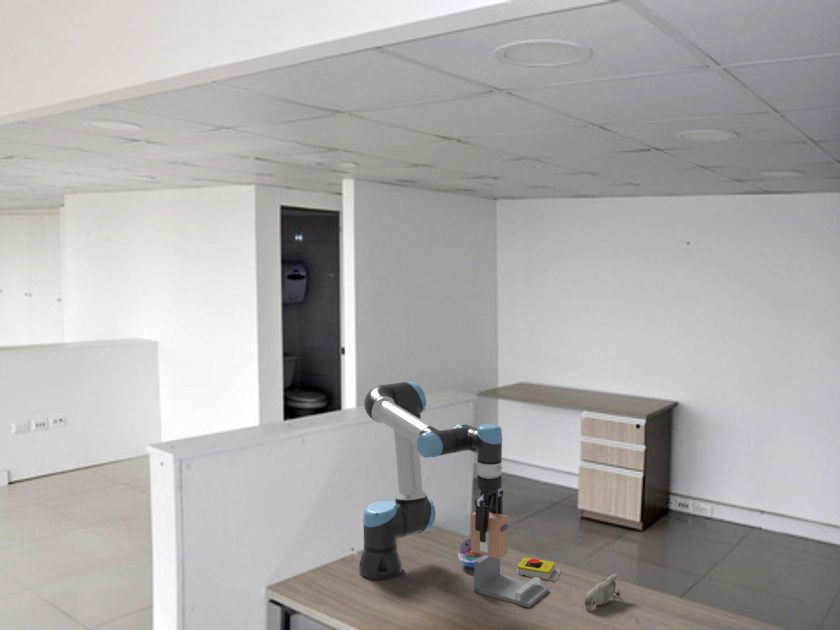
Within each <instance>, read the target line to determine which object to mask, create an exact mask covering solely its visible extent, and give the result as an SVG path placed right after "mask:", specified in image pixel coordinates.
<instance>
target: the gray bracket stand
mask: <svg viewBox="0 0 840 630" xmlns="http://www.w3.org/2000/svg"><path fill="white" fill-rule="evenodd" d="M527 582H528V581H526V580H521V579H518V578H514V577H512V576H507V575H504V574H501V558H500V559H497V558H493V557H490V556H486V555H483V556H482V557H480V558H479V559H477V560H476V561H474V567H473V592H475V593H479V594H482V595H485V596H489V597H492V598H495V599H498V598H499V600H502V601H505V602H508V603H511V604H512V603H513V604H514V605H519V606H522V607H526V608H531V606H533V605H534V604H536V603H537V602H538V601H539V600H540V599H541V598H543V596H545V595H546V594H548V592H549V587H547V586H544V585H540V586H539V587H538V588H536V589H535V590H534V591H533V592H531V593H530V594H529V595H528V596H526V597H525V598H524V599H523V600H522V601H517V600H515V592H516V591H517V590H518V589H520V588H521V587H522V586H524V585H525V584H526V583H527Z"/></svg>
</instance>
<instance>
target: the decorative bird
mask: <svg viewBox="0 0 840 630" xmlns="http://www.w3.org/2000/svg"><path fill="white" fill-rule="evenodd" d="M618 578H619V575H618V574H617V573H613V574H611V575H609V576H608V577H607V578H605V579H602V580H600V581H599V582H597V583H596V585H595V586H594V587H593V588H591V589H589V590H588V591H587V592H586V594H585V595H584V596H585V597H584V607H585V609H586V612H589V611H590V610H591V609H592V608H593V607H594V606H601V605H605V604H607V603H609V601H610V600H611V599H612V597H613V596H615V597H616V598H617V599H618V598H619V599H621V596H620V590H621V589H620V588H619V589H618V591H616V587H617V586H616V585H617V583H616V581H617V580H618ZM614 593H615V595H614Z"/></svg>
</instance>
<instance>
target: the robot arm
mask: <svg viewBox="0 0 840 630" xmlns="http://www.w3.org/2000/svg"><path fill="white" fill-rule="evenodd" d="M363 406H364V409H365V412H366V414H367V416H368V417H369V418H370V419H371V420H373V421H374V422H375V423H377V424H385V425H386V426H387V427H389V428H390V429H392V430H393V434H394V435H393V438H394V448H395V450H394V451H395V459H396V471H397V473H396V474H397V484H398V492H397V494H396V495H395V498H394V500H395V502H394V501H392V500H378V501H375V502H372V503H370V504H368V505H367V506H366V508H365V509H364V511H363V519H362V522H363V551H362V554H361V557H360V561H359V564H358V573H359V574H360V576H362V577H364V578H367V579H370V580H376V581H377V580H389V579H393V578H396V577H398V576H399V575H401V574H402V572H403V563H402V560H401V556H400V554H399V551H398V539H401V538H404V537H407V536H412V535H415V534H423V533H424V532H426V531H429V530H430V529H432V526H433V525H434V524H435V521H436V516H437V515H436V513H437V512H436V507H435V505H434V502H433V500H432V499H431V498H429V497H428V493H427V492H425V491H424V489H423V479H422V466H421V465H422V464H421V457H423V458H425V459H427V458H436V457H440V456H445V455H449V454H456V453H461V452H467V451H469V452H472V453H476V454H477V455H476V456H477V457H476V458H477V459H476V461H477V463H476V464H477V467H476V468H477V469H476V473H477V476H476V478H477V479H476V482H477V483H476V486H477V488H478V489H479V490H480V494H479V497H478V499H477V498H475V499H474V505H475V512H476V517H475V530H476V531H480V551H482V552H486V553H488V552H489V531H487V528H488V518H489V513H490V512H491V513H496V514H501V515H504V514H503V498H504V497H503V496H504V490H503V489H502V485H503V483H502V482H503V480H502V472H503V471H502V470H503V466H502V465H503V464H502V462H503V461H502V459H503V457H502V456H503V436H502V435H503V433H502V432H503V431H502V430H503V429H502V427H501V426H500V425H498V424H494V423H492V424H491V423H483V424H479V425H478V426H477V427H475V426H472V425H470V424H463V423H459V424H456V425H455V426H454V427H453V428H449V429H448V428H447V429H441V430H440V429H438V428H436V427H434V426H432V425H430V424H429V423H427V422H426V421H424V420H423V419H422V417H421V416H422V415H421V414H423V412H424V411H425V410H426V406H427V398H426V394H425V391H424V390H423V388H422V387H421V385H420V384H419V383H417V382H413V381H404V382H403V381H402V382H396V383H395V382H394V383H388V384H379V385H377V386H374V387H372V388H371V389H370V390H369V391H368V392H367V393H366V395H365V398H364V402H363ZM501 489H502V490H501Z"/></svg>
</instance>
